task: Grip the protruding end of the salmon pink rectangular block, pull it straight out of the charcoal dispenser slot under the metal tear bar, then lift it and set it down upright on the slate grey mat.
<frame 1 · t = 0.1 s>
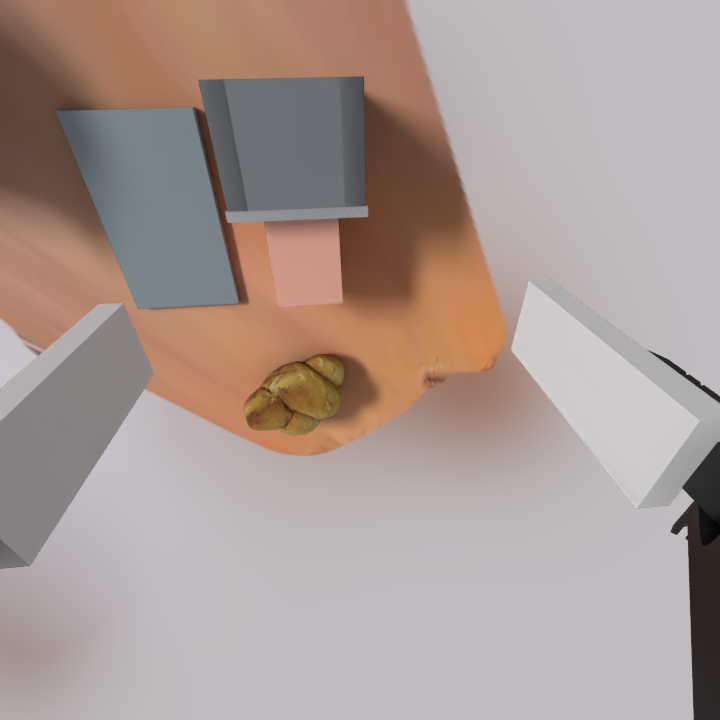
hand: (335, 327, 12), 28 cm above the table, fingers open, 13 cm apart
mat: (164, 220, 35), on the table
salmon pink rectangular block: (306, 211, 36), on the table
bread roll: (305, 380, 49), on the table
dispenser: (298, 138, 33), on the table
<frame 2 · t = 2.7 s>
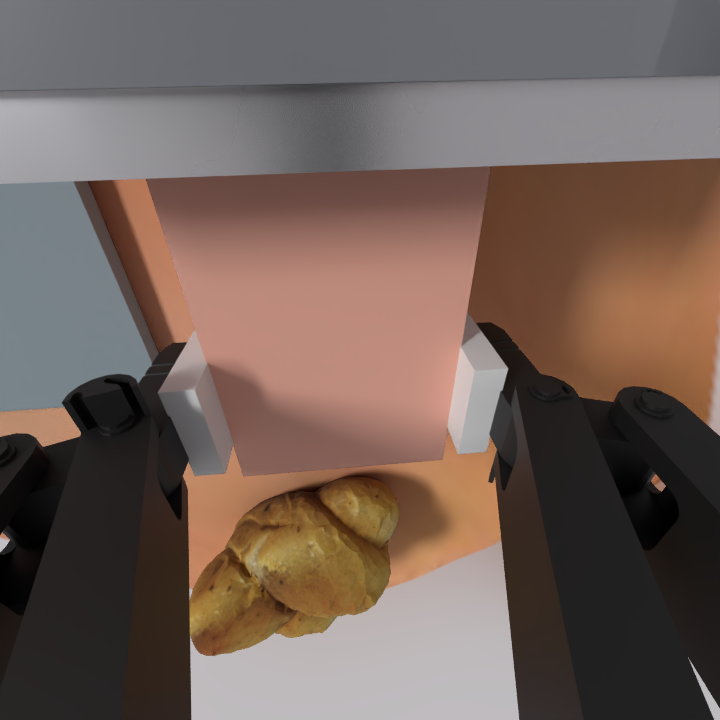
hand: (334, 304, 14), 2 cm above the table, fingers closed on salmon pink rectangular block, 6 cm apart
salmon pink rectangular block: (326, 185, 14), on the table, touching gripper
bread roll: (316, 509, 26), on the table
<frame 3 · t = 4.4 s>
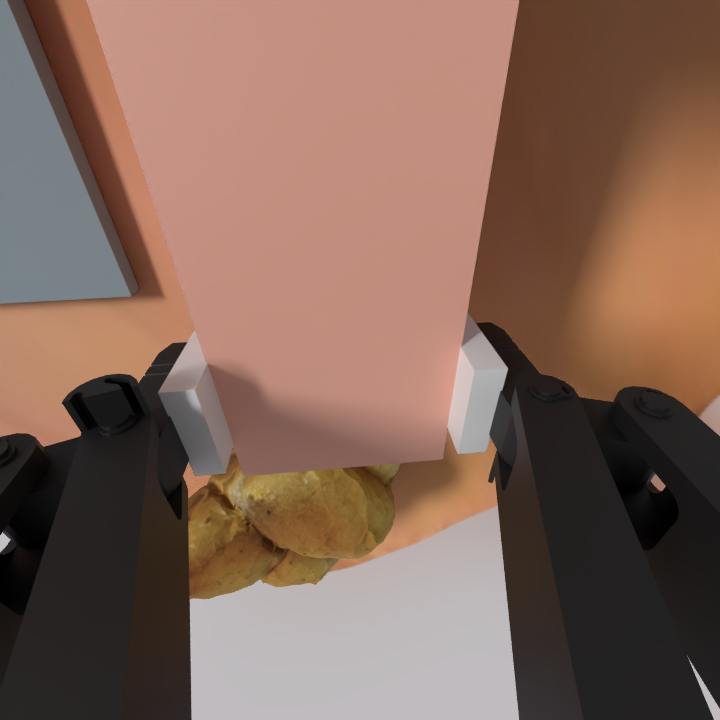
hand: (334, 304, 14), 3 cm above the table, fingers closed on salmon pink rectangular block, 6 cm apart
salmon pink rectangular block: (326, 184, 14), on the table, touching gripper
bread roll: (311, 452, 23), on the table
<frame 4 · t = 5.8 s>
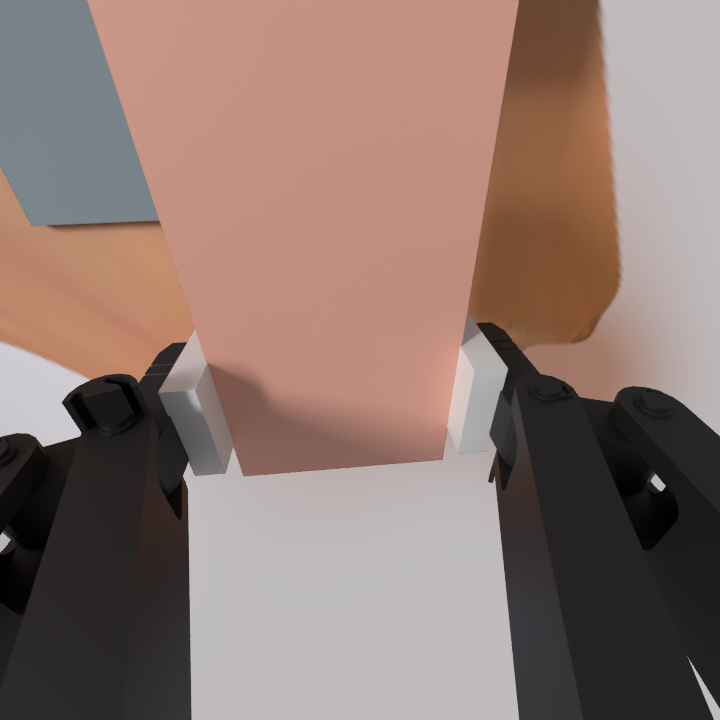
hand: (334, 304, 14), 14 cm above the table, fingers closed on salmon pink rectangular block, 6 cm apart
mat: (57, 45, 19), on the table
salmon pink rectangular block: (326, 185, 14), point 12 cm above the table, touching gripper
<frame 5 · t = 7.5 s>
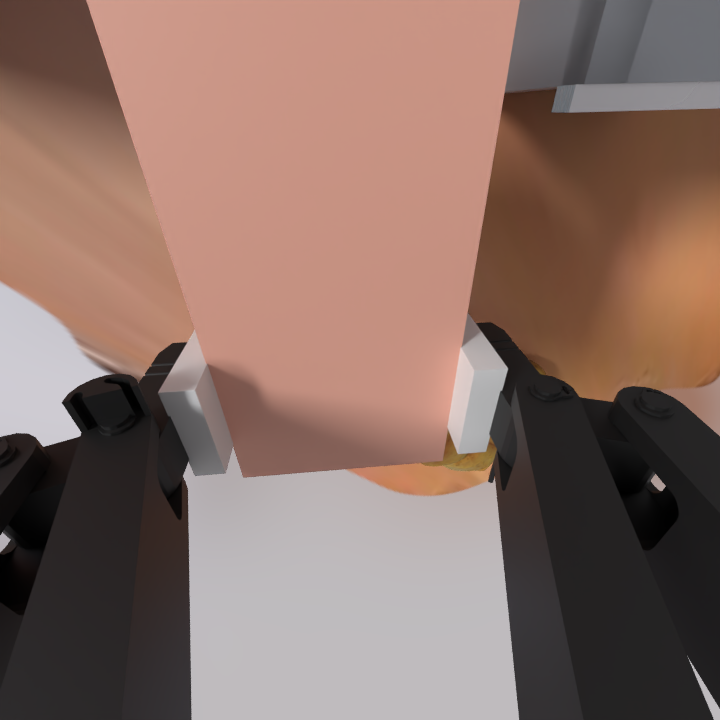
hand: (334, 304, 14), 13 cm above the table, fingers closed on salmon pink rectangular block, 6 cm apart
salmon pink rectangular block: (326, 186, 14), point 10 cm above the table, touching gripper
bread roll: (467, 392, 35), on the table
dispenser: (581, 4, 19), on the table
when the fingers open (5 cm above the table, at t = 9.0 s): salmon pink rectangular block drops 2 cm, resting on mat.
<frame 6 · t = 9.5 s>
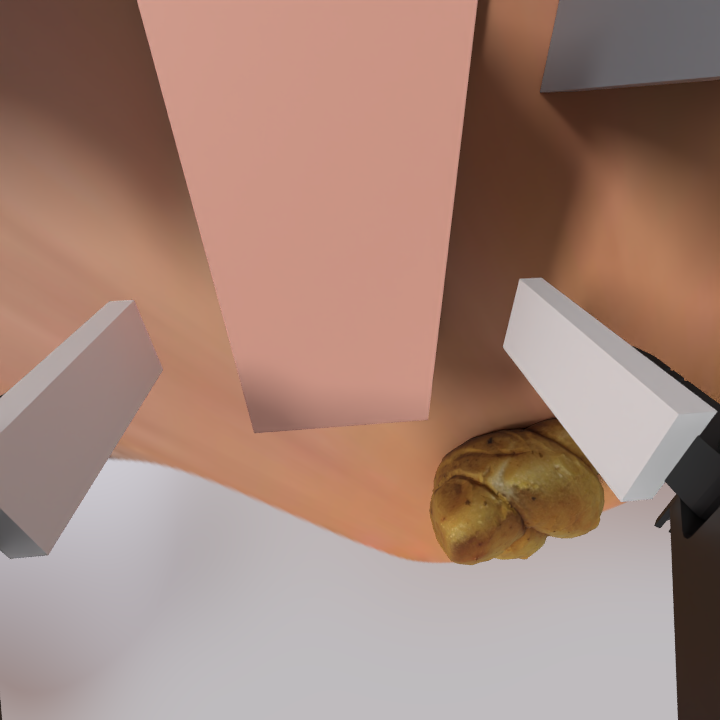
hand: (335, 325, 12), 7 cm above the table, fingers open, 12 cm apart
salmon pink rectangular block: (326, 181, 15), point 1 cm above the table, touching mat
bread roll: (501, 453, 28), on the table
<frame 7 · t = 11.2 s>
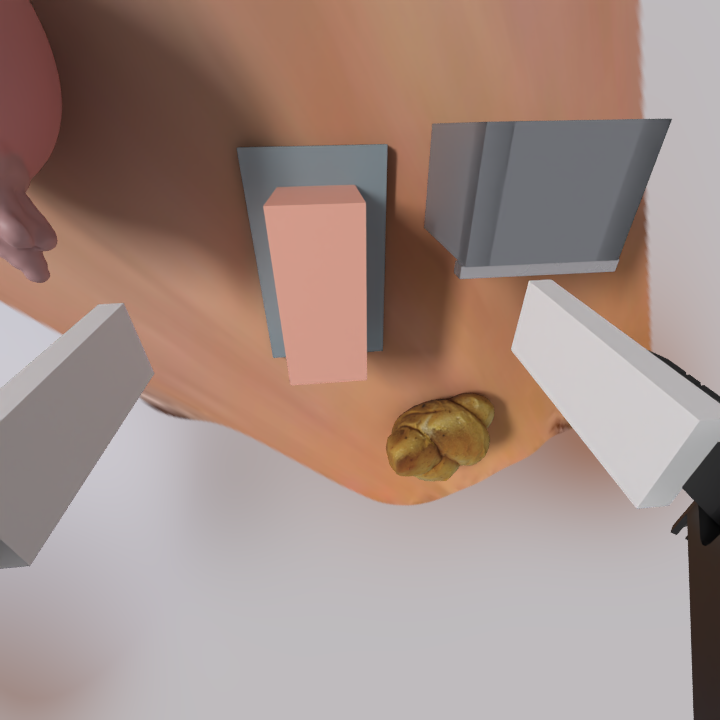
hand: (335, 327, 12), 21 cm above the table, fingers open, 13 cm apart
balloon: (10, 100, 24), on the table
mat: (322, 263, 32), on the table
salmon pink rectangular block: (322, 268, 31), point 1 cm above the table, touching mat
bread roll: (436, 418, 44), on the table
dispenser: (488, 177, 29), on the table
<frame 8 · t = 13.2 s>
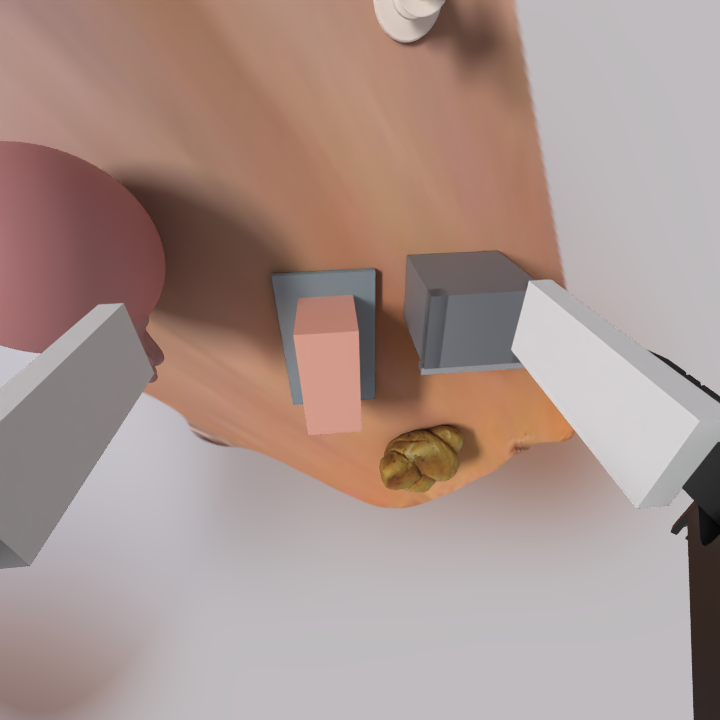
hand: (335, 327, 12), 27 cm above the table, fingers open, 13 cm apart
balloon: (121, 251, 36), on the table
mat: (329, 341, 44), on the table
salmon pink rectangular block: (329, 346, 43), point 1 cm above the table, touching mat
bread roll: (419, 442, 56), on the table
dispenser: (448, 285, 41), on the table
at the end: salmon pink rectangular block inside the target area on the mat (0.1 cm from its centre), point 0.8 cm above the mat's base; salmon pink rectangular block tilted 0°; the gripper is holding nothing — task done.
